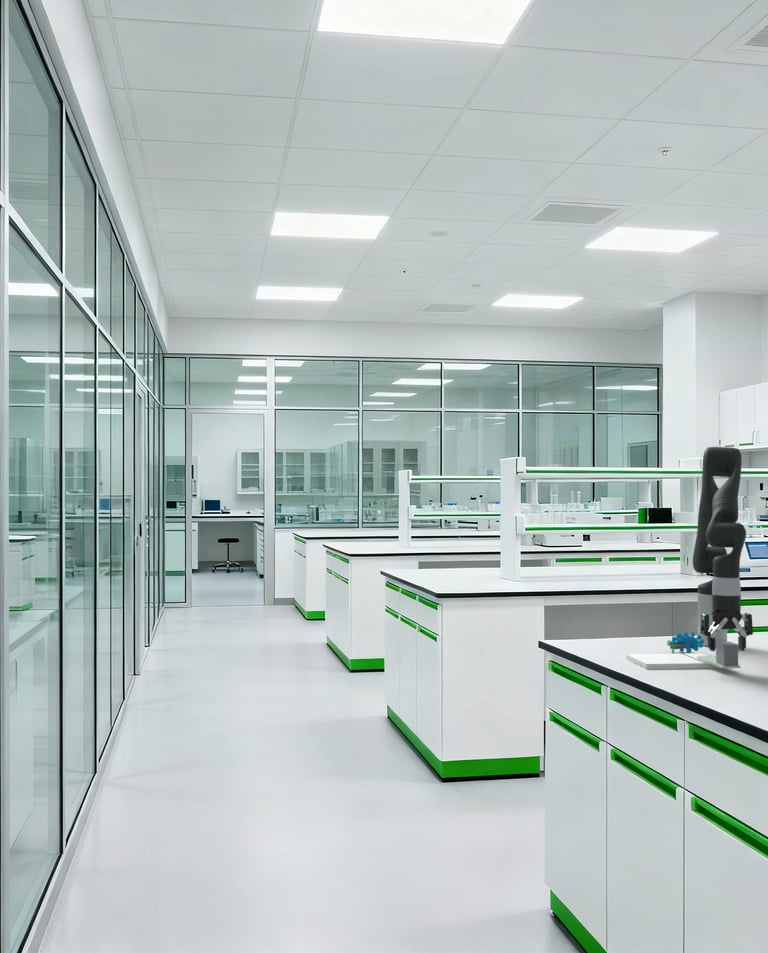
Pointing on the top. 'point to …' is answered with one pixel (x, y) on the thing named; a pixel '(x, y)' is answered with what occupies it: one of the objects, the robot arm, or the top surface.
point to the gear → (685, 642)
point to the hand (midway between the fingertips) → (726, 650)
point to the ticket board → (669, 661)
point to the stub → (723, 655)
